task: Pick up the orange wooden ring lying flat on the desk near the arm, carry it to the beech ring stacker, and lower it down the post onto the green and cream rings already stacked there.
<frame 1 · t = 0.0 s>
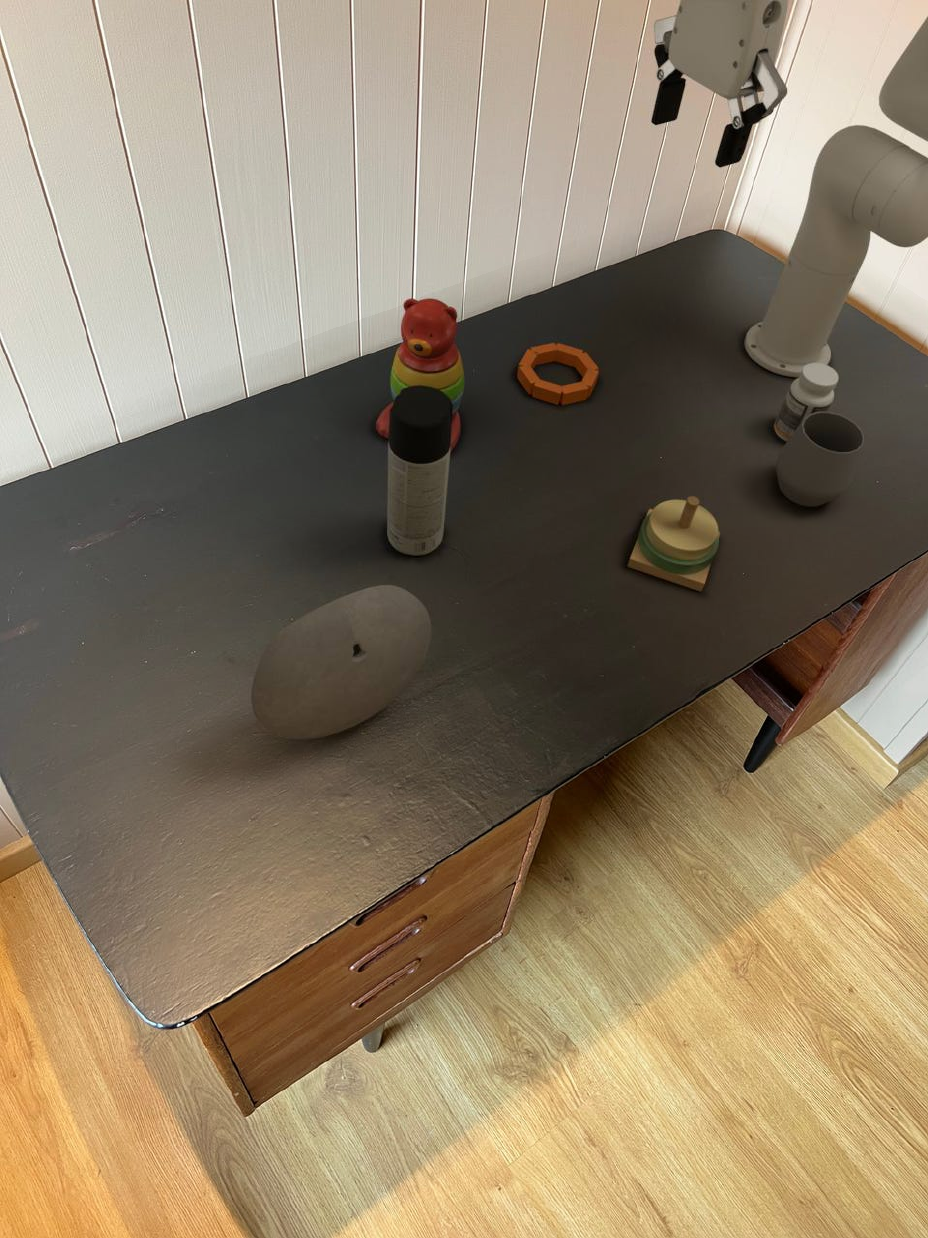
hand: (694, 142, 94), 37 cm above the table, tool pointing down, fingers open, 9 cm apart
stacking bear: (424, 424, 120), on the table
orange ring: (556, 379, 128), on the table
stacker: (672, 553, 110), on the table
cup: (802, 492, 118), on the table
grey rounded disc: (347, 718, 93), on the table
spray can: (415, 538, 108), on the table
pill bottle: (792, 433, 125), on the table
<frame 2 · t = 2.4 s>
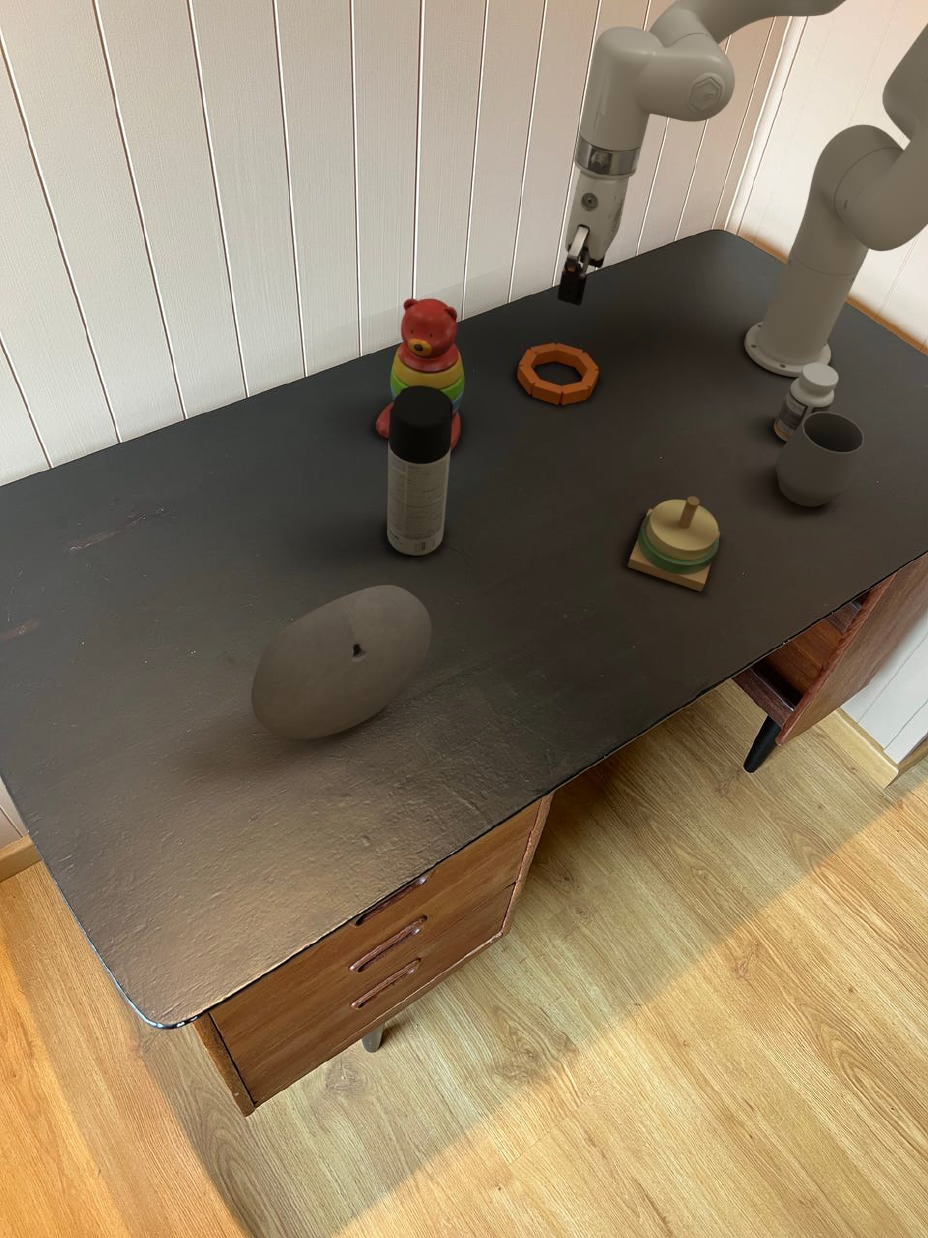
hand: (580, 282, 120), 13 cm above the table, tool pointing down, fingers open, 9 cm apart
nothing on the table moved.
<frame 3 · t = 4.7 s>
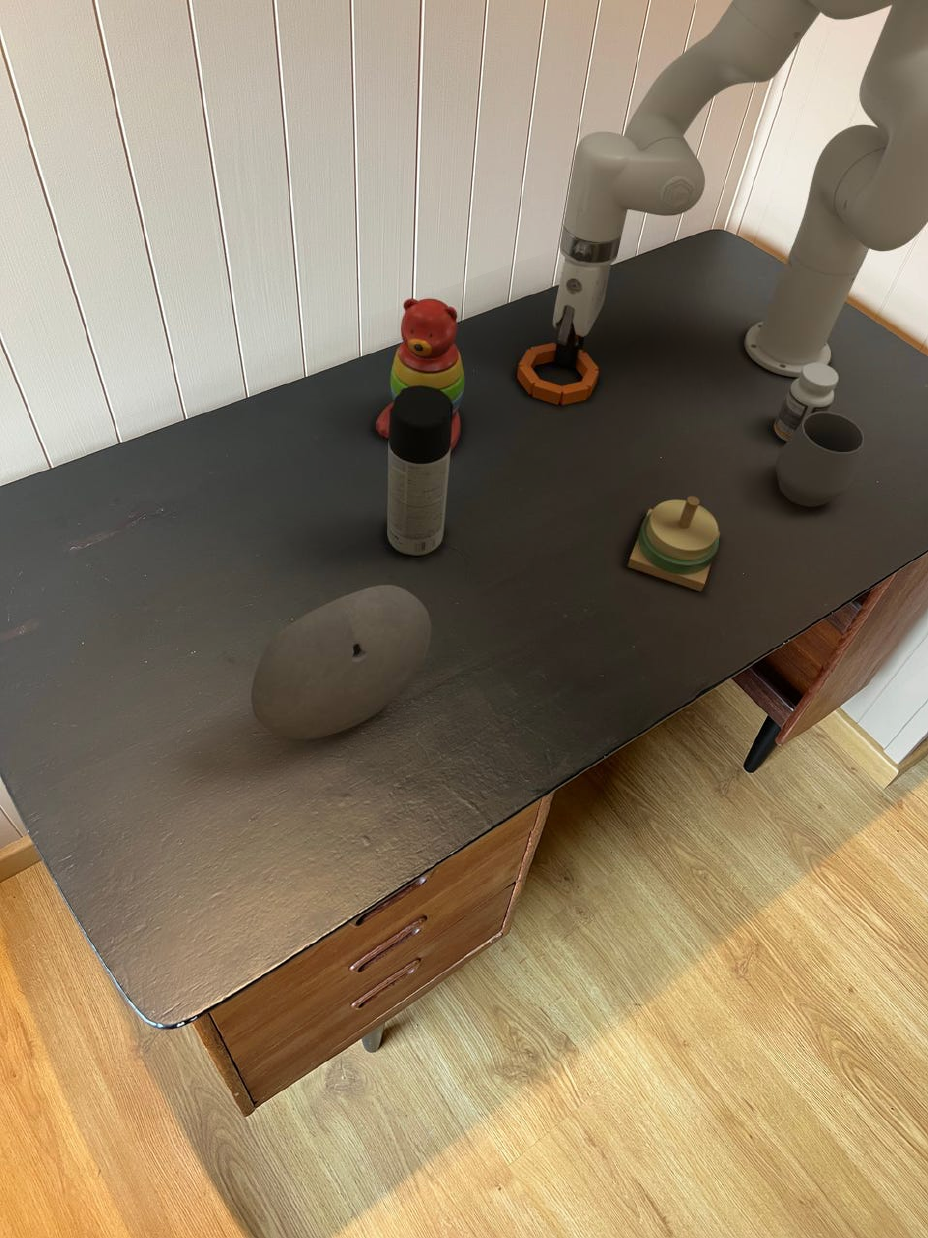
hand: (566, 359, 130), 0 cm above the table, tool pointing down, fingers closed on orange ring, 1 cm apart
orange ring: (556, 379, 128), on the table, touching gripper
everything else where it was.
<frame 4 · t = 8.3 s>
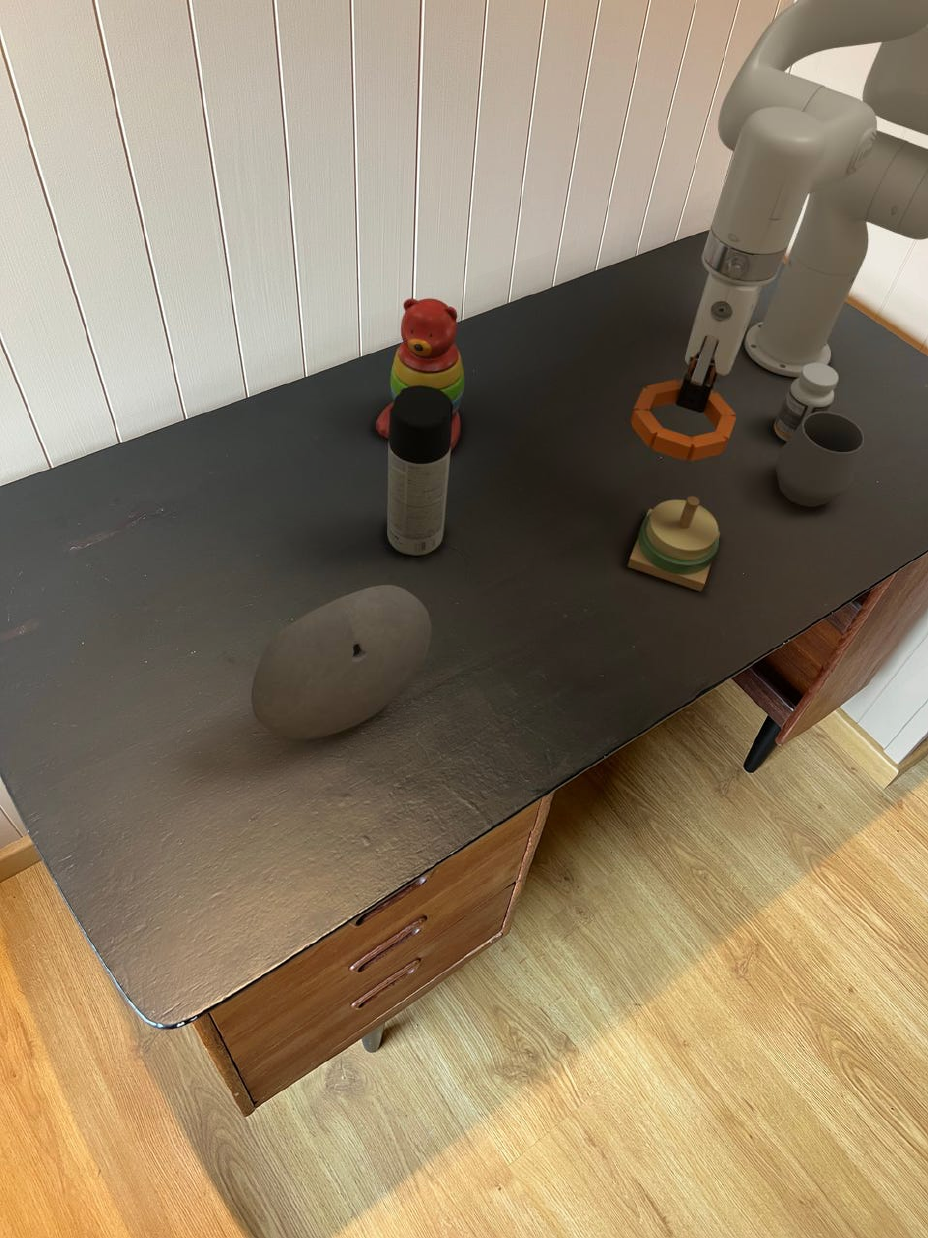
hand: (692, 401, 103), 15 cm above the table, tool pointing down, fingers closed on orange ring, 1 cm apart
orange ring: (680, 426, 101), point 15 cm above the table, touching gripper
everything else where it was.
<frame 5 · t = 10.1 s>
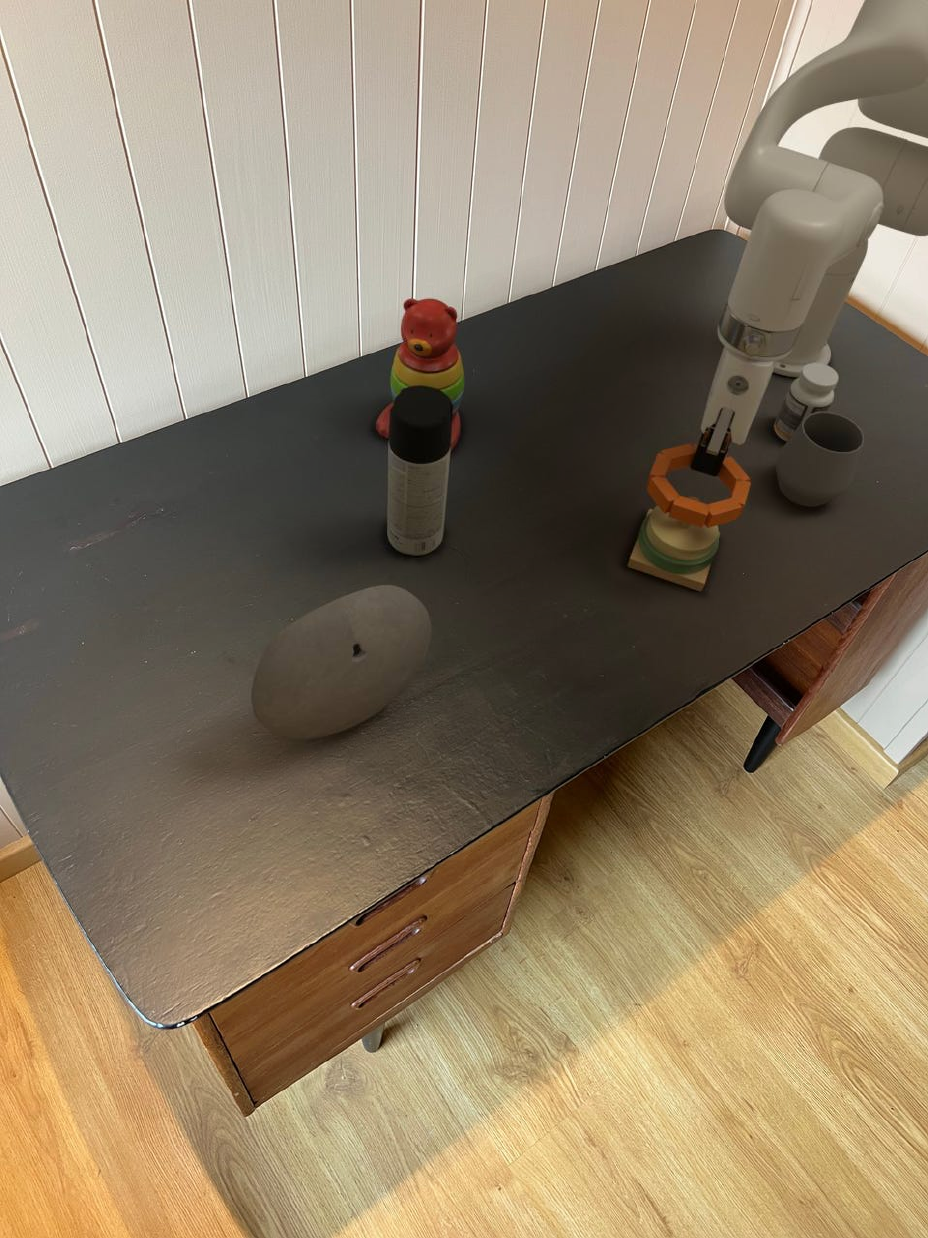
hand: (706, 464, 104), 11 cm above the table, tool pointing down, fingers closed on orange ring, 1 cm apart
orange ring: (695, 491, 101), point 10 cm above the table, touching gripper
everything else where it was.
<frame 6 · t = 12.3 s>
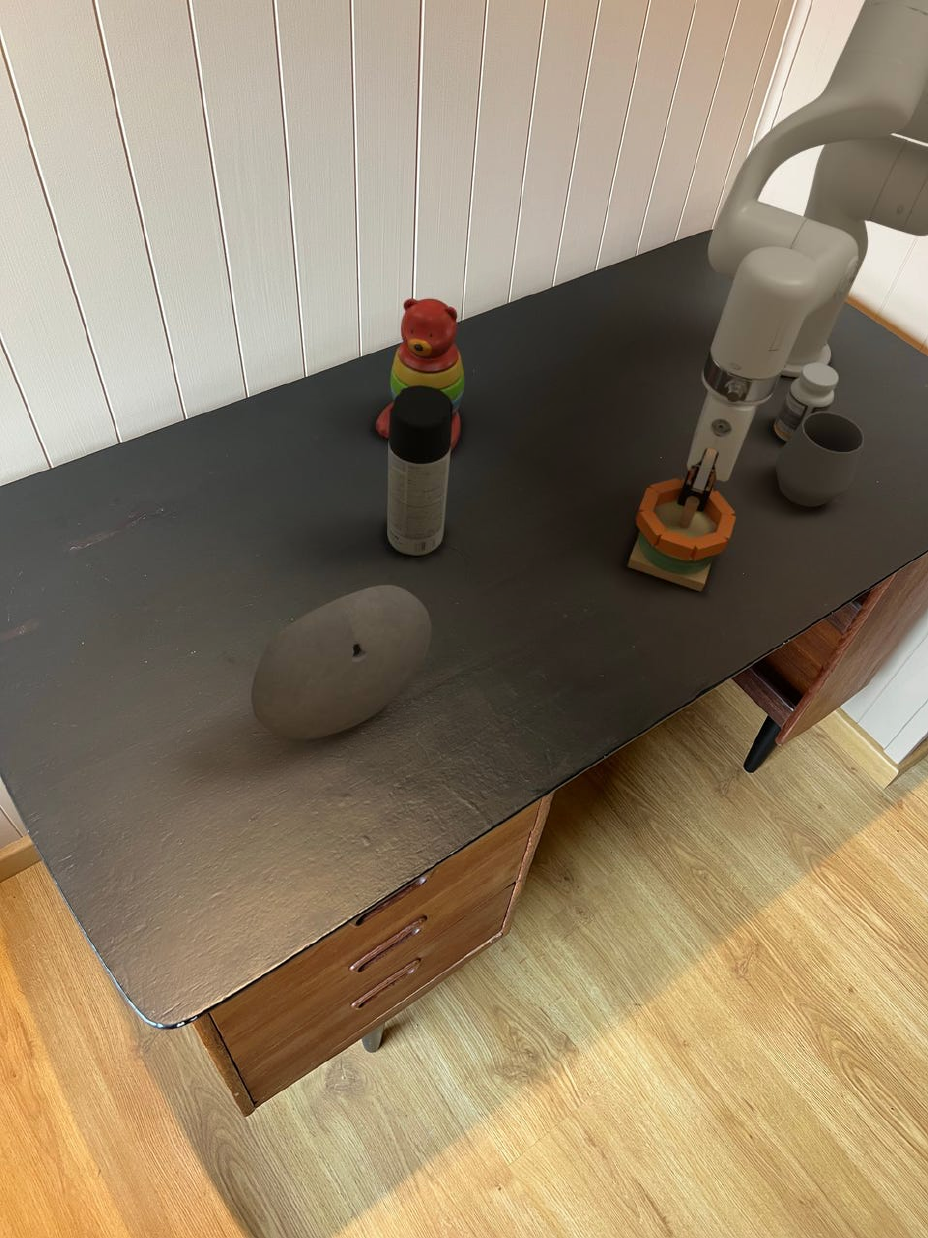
hand: (693, 495, 108), 5 cm above the table, tool pointing down, fingers closed
orange ring: (683, 524, 105), point 5 cm above the table, touching stacker
everything else where it was.
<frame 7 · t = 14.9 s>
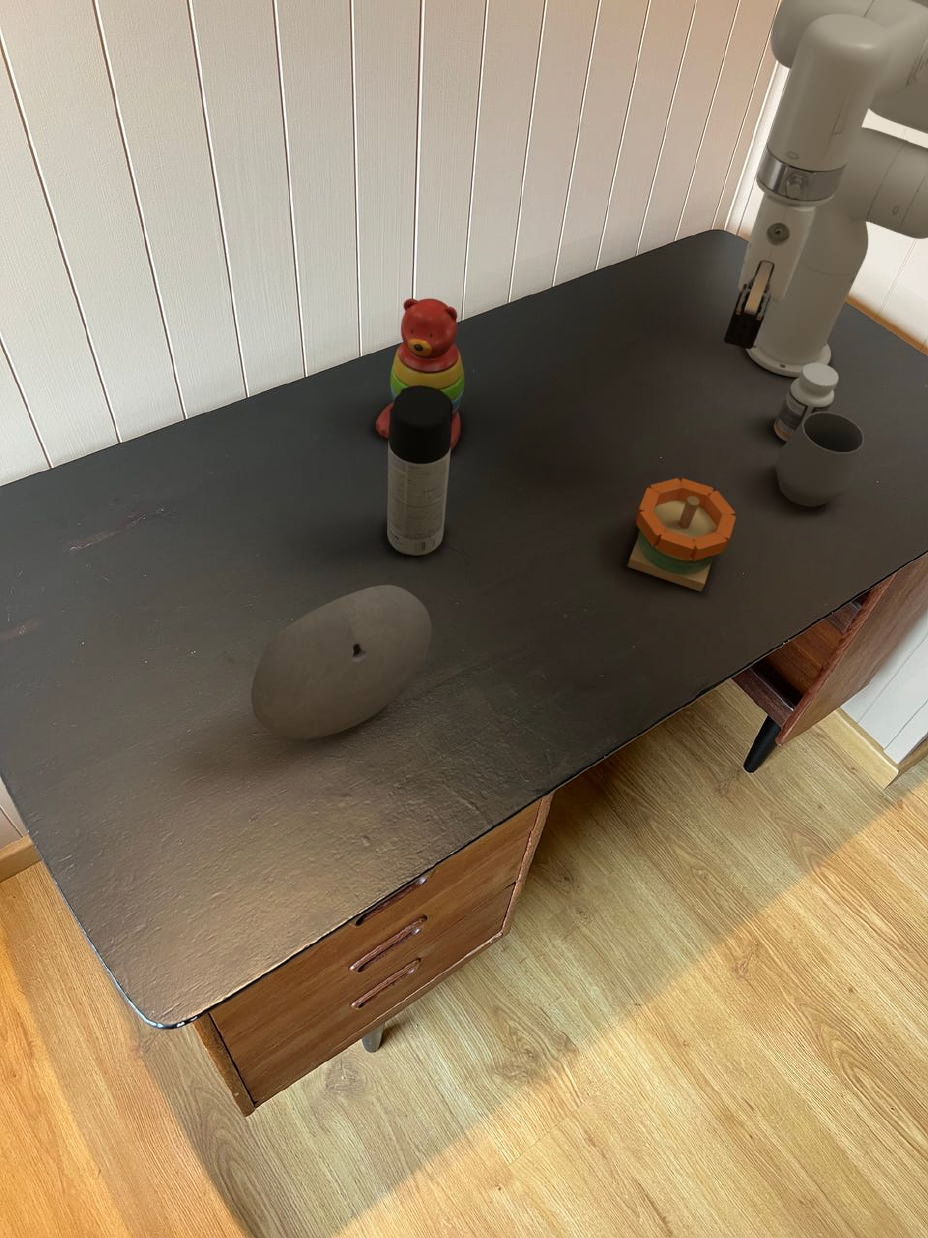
hand: (741, 331, 101), 22 cm above the table, tool pointing down, fingers open, 3 cm apart
nothing on the table moved.
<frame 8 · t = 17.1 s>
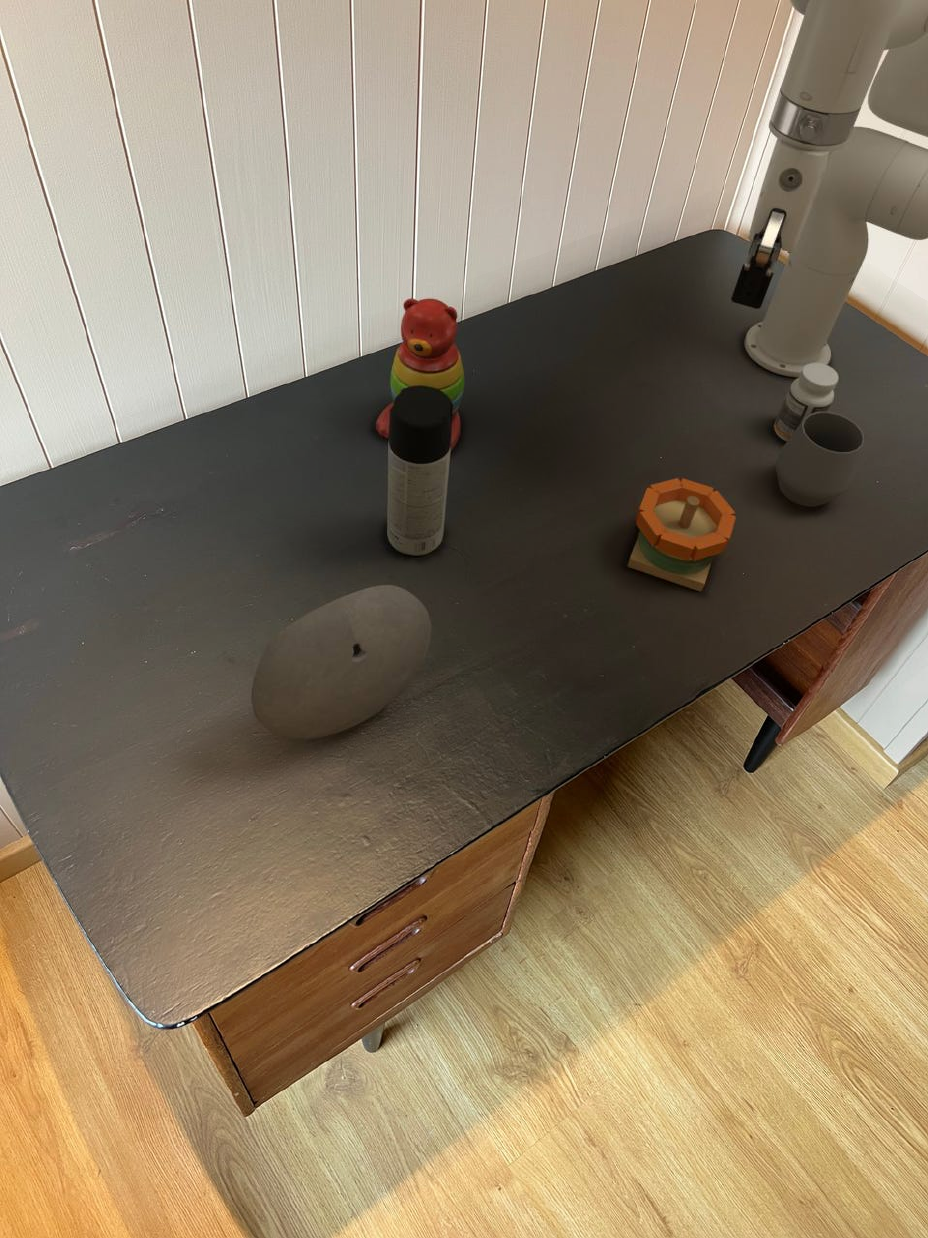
hand: (754, 280, 99), 26 cm above the table, tool pointing down, fingers open, 9 cm apart
nothing on the table moved.
at the end: orange ring 0.1 cm off-centre on the stacker, point 5.1 cm above the stacker's base; the gripper is holding nothing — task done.
